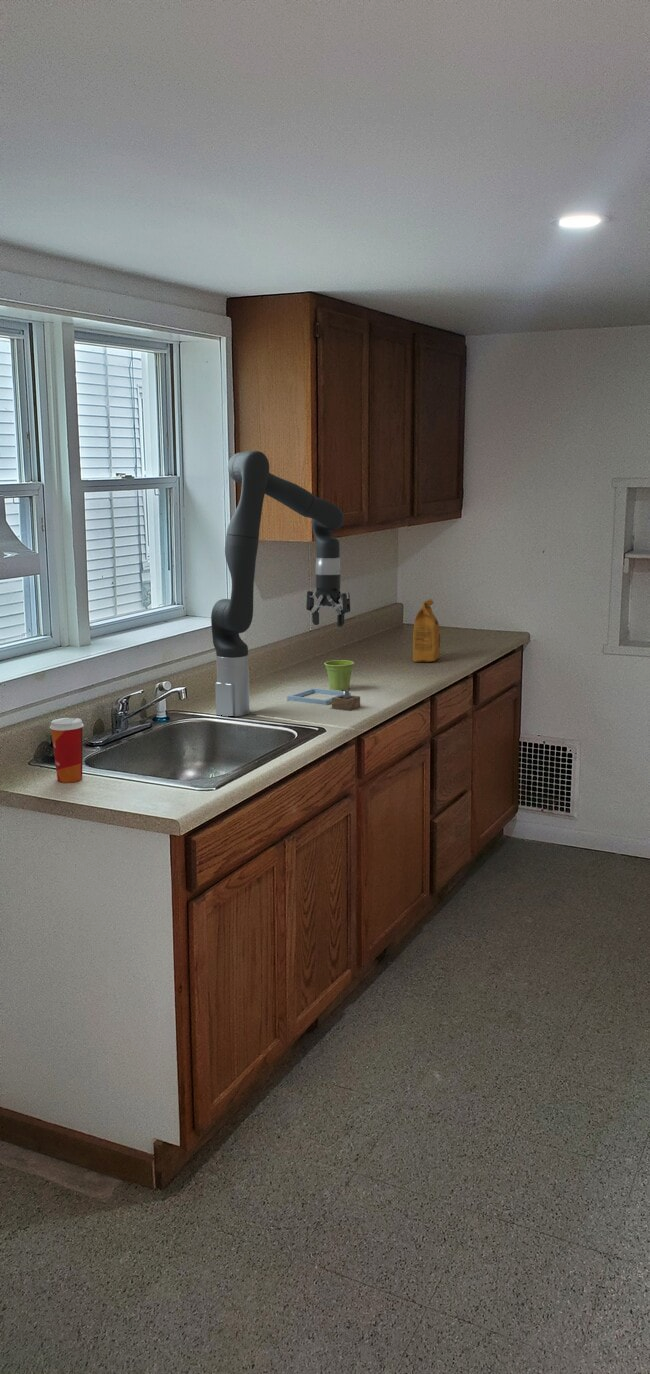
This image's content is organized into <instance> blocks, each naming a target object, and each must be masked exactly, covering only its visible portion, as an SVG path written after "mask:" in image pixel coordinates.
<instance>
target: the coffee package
mask: <svg viewBox="0 0 650 1374" xmlns="http://www.w3.org/2000/svg"><path fill="white" fill-rule="evenodd" d="M434 603H435V602H434V600H433V599H430V598H429V599H427V600H425V601H423V603H422V606H421V608H420V609H419V611H418V612H417V613H416V616H415V618H414V623H413V625H414V626H413V631H412V632H413V633H412V662H413V663H429V662H431V663H432V662H435V661H436V660H438V659H439V657H440V655H441V652H440V649H441V628H440V624H439V621H438V619H437V617H436V616H435V614H434V613H433V609H432V607H431V606H432V605H433V604H434Z"/></svg>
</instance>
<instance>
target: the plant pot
mask: <svg viewBox="0 0 650 1374" xmlns="http://www.w3.org/2000/svg"><path fill="white" fill-rule="evenodd" d="M354 664H355V662H354V661H352V660H347V659H346V660H345V659H337V660H333V659H332V660H328V661H326V662H324V664H323V665H325V669H326V673H327V677H328V683H329V690H334V691H343V690H349V689H350V683H351V676H352V670H353V666H354Z"/></svg>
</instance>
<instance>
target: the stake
mask: <svg viewBox="0 0 650 1374" xmlns="http://www.w3.org/2000/svg"><path fill="white" fill-rule="evenodd" d="M342 692H343V699H349V692H350V690H349V689H348V690H342ZM362 707H363V705H360V707H357V708H355V709H352V710H344V711H346V712H347V711H348V712H351V711H354V710H357V709H359V708H362ZM329 709H331V710H335V709H334V708H332V707H329ZM337 710H339V711H343V710H342V709H337Z"/></svg>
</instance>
